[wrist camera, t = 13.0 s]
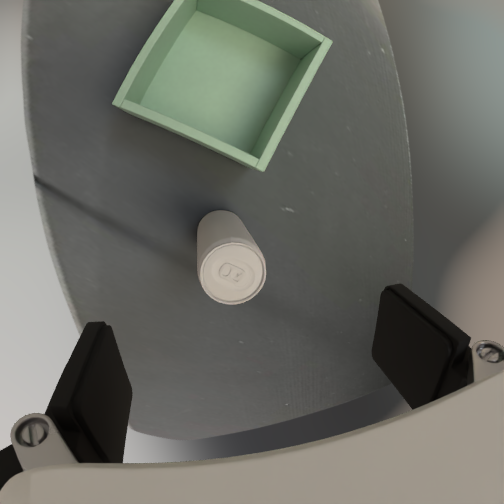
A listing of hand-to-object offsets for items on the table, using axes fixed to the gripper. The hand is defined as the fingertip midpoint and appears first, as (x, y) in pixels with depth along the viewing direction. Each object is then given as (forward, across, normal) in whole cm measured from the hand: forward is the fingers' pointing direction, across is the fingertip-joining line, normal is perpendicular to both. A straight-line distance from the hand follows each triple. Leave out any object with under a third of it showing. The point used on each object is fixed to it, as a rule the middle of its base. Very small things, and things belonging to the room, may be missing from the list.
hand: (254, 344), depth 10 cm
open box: (+24, -2, -13) cm, 27 cm away
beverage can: (+24, 0, +2) cm, 24 cm away
